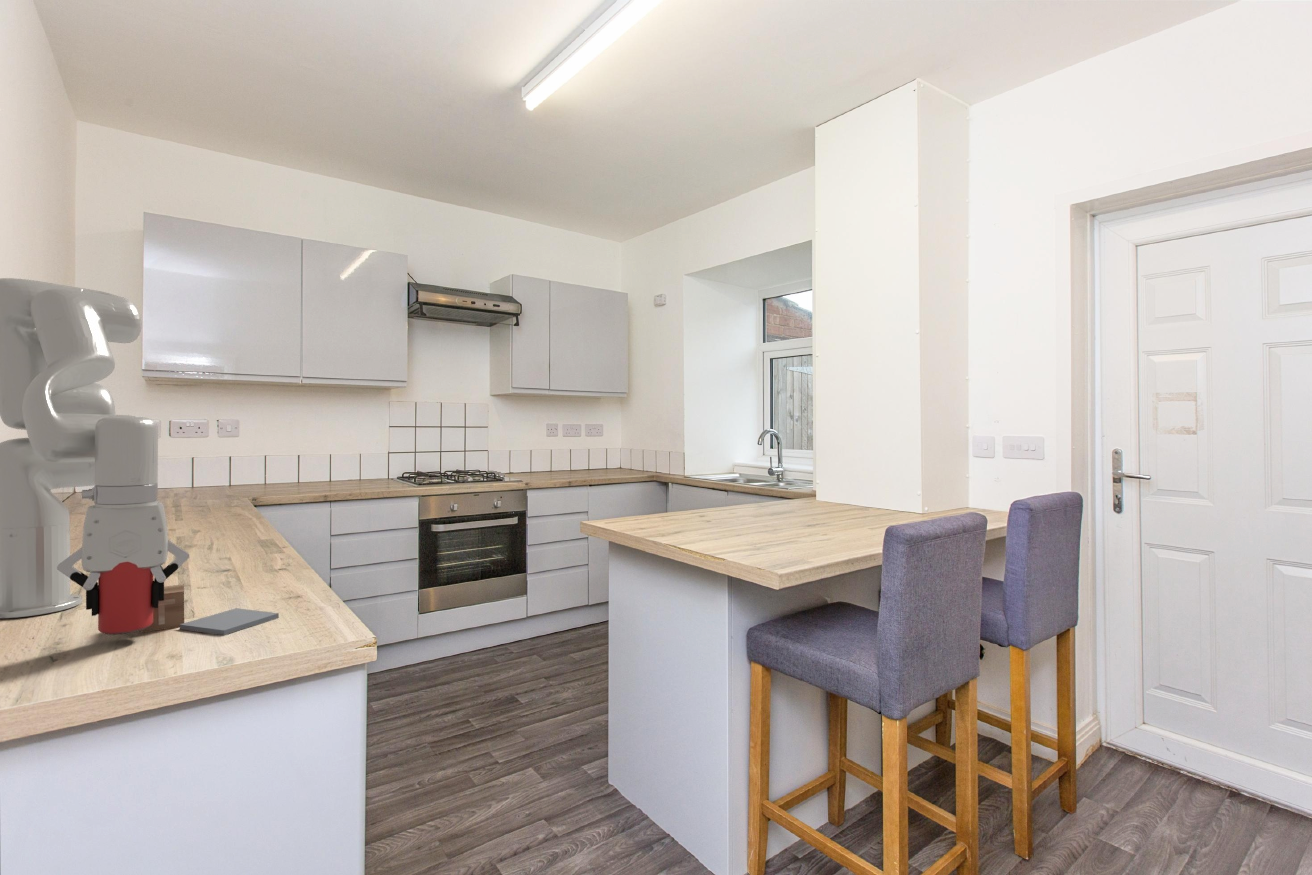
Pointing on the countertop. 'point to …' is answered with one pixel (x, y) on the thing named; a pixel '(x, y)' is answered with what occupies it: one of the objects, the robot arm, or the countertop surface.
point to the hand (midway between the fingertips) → (126, 608)
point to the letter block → (168, 609)
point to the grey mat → (229, 621)
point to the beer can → (125, 599)
